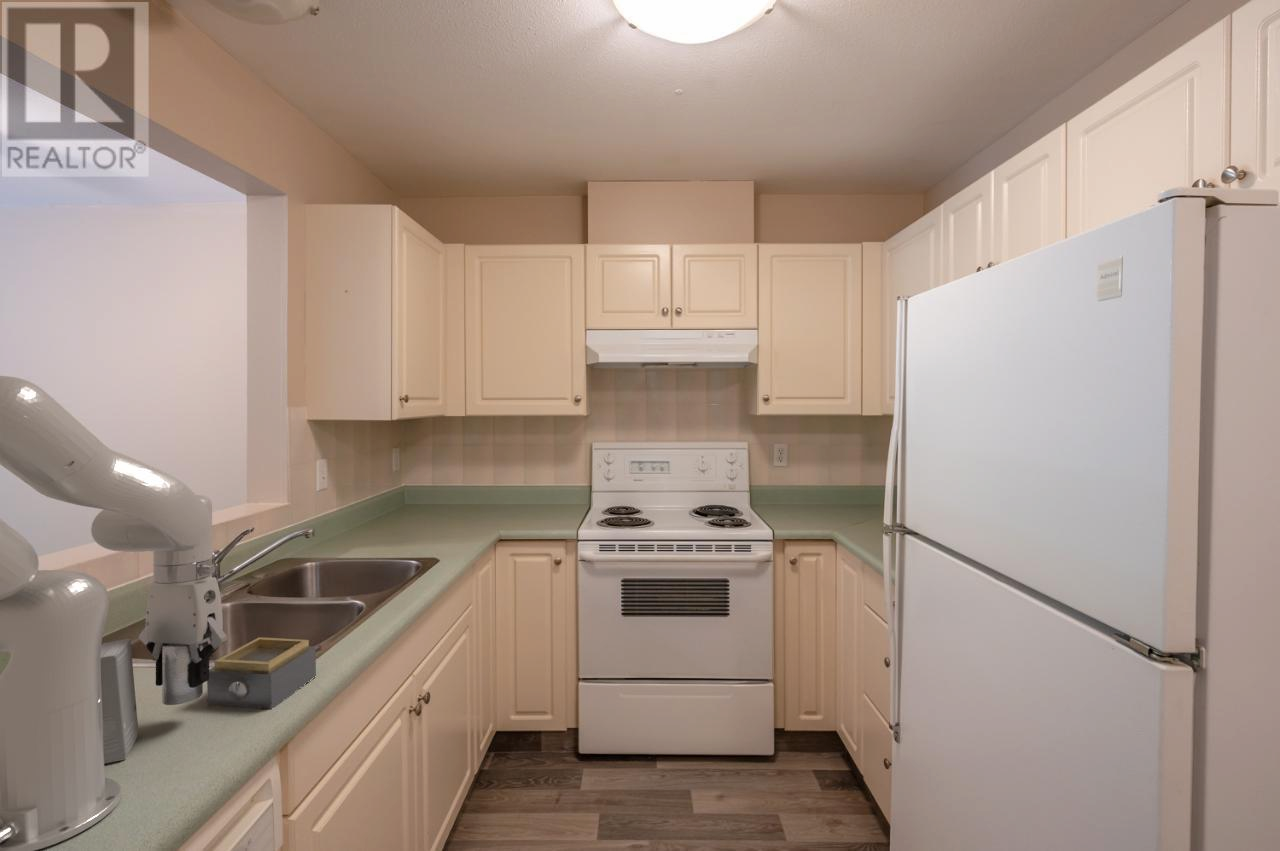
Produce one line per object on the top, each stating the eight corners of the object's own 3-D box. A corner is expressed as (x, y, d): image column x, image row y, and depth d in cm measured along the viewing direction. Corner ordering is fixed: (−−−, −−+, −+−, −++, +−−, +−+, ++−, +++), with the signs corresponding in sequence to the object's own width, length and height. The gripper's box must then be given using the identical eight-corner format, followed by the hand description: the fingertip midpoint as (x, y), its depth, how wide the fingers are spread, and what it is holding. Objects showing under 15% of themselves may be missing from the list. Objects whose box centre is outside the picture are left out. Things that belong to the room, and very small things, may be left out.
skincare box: (126, 761, 85) (122, 655, 85) (60, 776, 82) (55, 666, 81) (141, 732, 93) (137, 634, 92) (80, 745, 89) (77, 643, 88)
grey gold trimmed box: (269, 710, 99) (268, 667, 99) (205, 706, 100) (204, 663, 100) (316, 677, 111) (315, 638, 111) (258, 673, 112) (257, 635, 112)
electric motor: (183, 705, 92) (183, 642, 92) (153, 704, 92) (153, 641, 92) (217, 687, 98) (217, 628, 98) (189, 685, 99) (189, 627, 99)
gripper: (249, 567, 98) (248, 675, 97) (157, 564, 99) (156, 670, 99) (211, 579, 90) (211, 696, 90) (113, 576, 92) (112, 690, 92)
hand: (182, 681), depth 95 cm, fingers closed on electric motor, 5 cm apart
